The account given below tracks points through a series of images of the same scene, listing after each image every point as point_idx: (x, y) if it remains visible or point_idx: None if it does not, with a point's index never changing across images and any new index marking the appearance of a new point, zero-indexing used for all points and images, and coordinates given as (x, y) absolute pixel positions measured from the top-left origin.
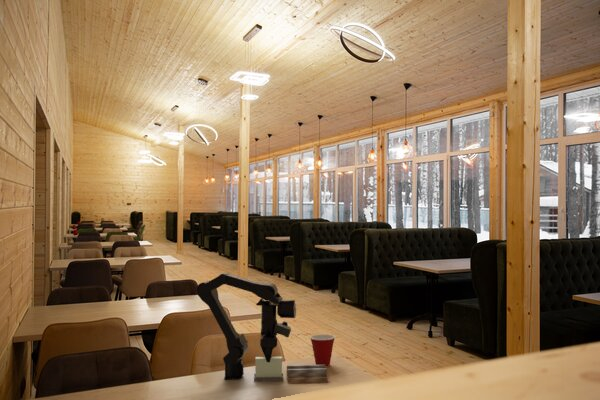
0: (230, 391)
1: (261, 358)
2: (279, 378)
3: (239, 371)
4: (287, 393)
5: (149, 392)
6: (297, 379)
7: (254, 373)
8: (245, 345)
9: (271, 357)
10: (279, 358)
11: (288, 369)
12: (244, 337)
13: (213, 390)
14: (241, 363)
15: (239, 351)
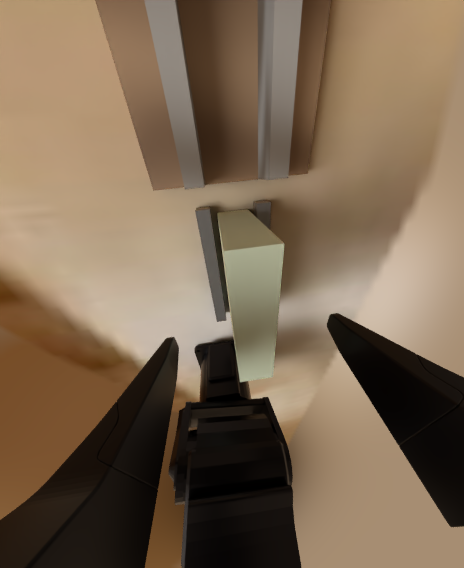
0: (325, 340)
1: (268, 359)
2: (269, 222)
3: (236, 361)
4: (423, 167)
5: (295, 418)
6: (316, 94)
7: (218, 321)
8: (230, 481)
9: (253, 320)
10: (282, 264)
11: (279, 168)
12: (192, 561)
13: (309, 365)
14: (236, 384)
15: (288, 456)
